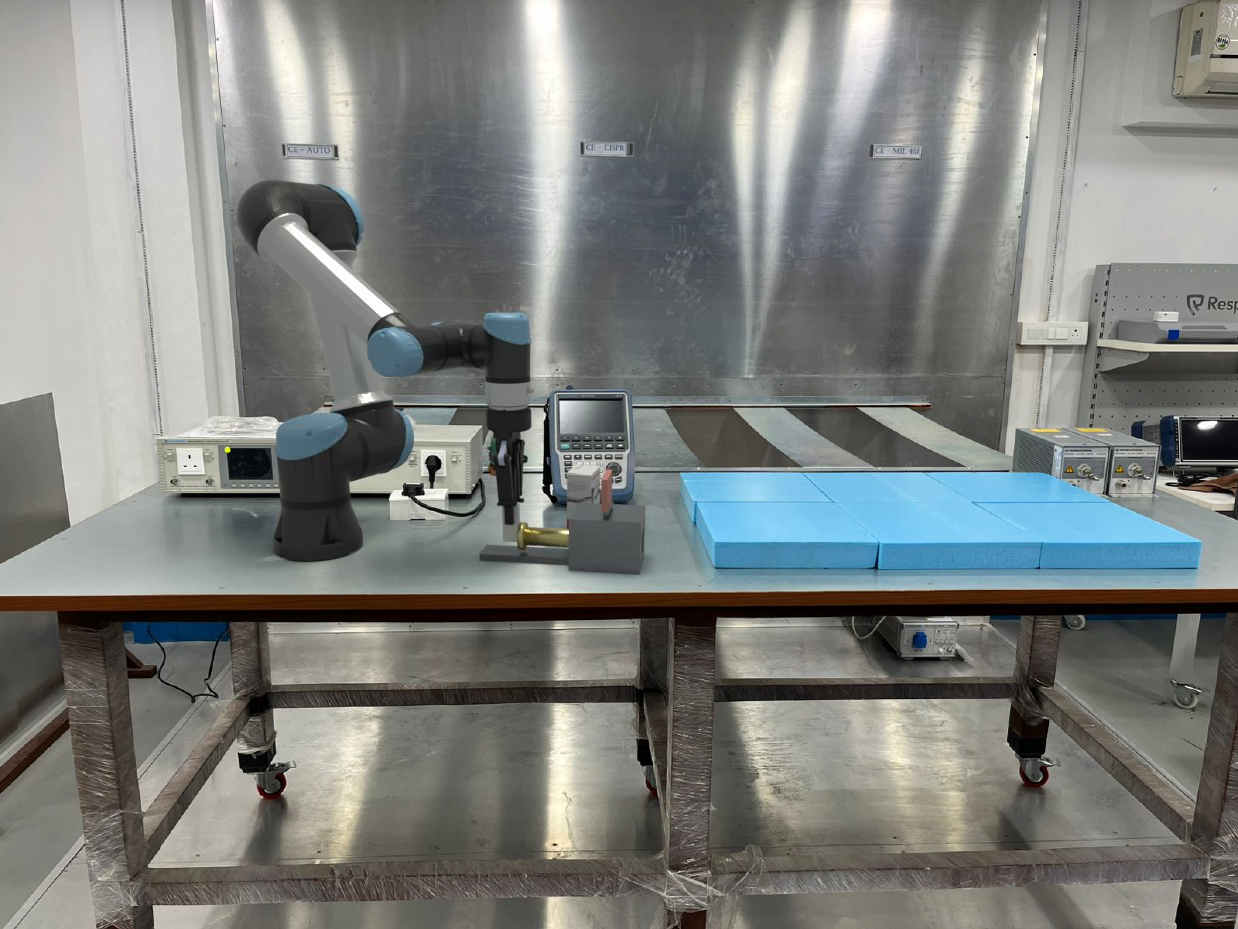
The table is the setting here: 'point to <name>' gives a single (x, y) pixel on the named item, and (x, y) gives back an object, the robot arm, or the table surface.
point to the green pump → (493, 451)
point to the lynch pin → (541, 536)
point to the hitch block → (589, 542)
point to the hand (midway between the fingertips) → (511, 540)
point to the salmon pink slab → (606, 493)
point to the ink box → (582, 486)
